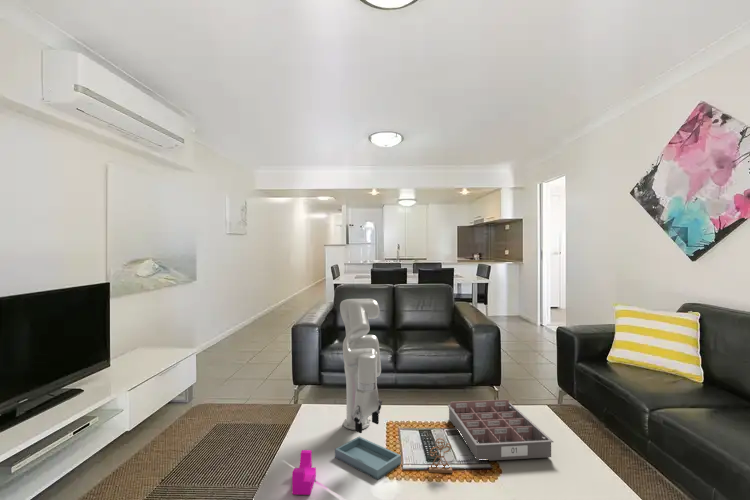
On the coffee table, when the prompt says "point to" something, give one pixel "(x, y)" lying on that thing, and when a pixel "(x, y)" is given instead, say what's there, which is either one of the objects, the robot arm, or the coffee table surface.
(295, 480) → the toy block
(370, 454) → the slate tray
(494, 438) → the organizer tray
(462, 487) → the coffee table surface
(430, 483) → the coffee table surface
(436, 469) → the wooden figure on stand
